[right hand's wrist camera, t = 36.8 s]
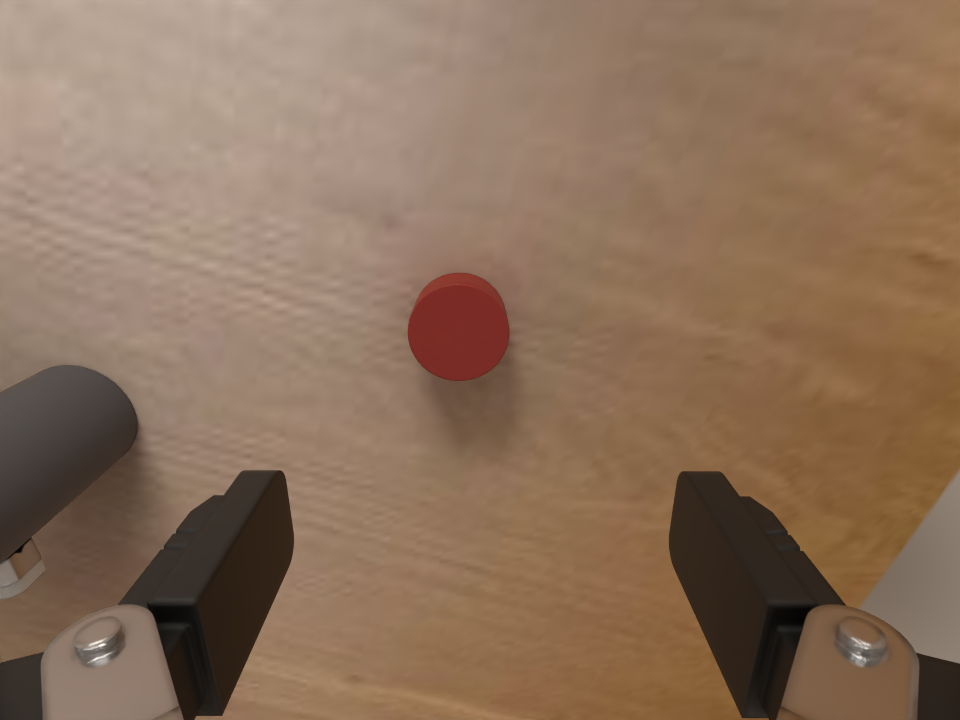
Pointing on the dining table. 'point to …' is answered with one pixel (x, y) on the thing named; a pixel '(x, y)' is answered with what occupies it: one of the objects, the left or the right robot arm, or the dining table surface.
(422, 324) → the cap
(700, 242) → the dining table surface
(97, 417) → the bottle
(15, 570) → the left robot arm
